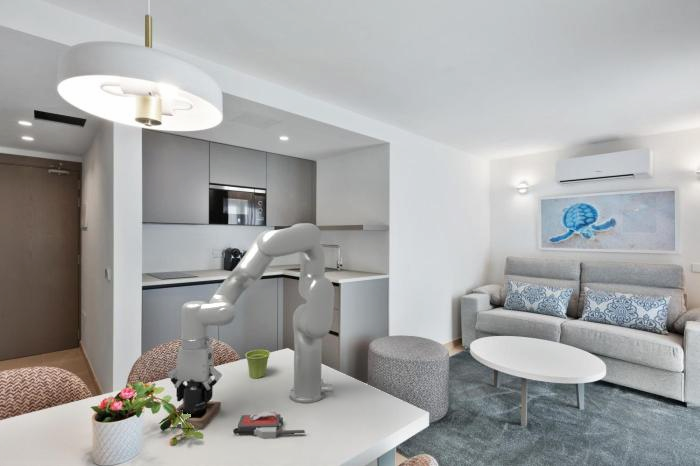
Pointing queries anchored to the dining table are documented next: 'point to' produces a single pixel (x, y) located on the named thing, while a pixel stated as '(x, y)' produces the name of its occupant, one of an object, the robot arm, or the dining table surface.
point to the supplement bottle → (194, 399)
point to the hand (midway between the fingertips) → (194, 399)
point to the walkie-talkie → (263, 425)
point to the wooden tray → (202, 422)
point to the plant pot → (257, 362)
